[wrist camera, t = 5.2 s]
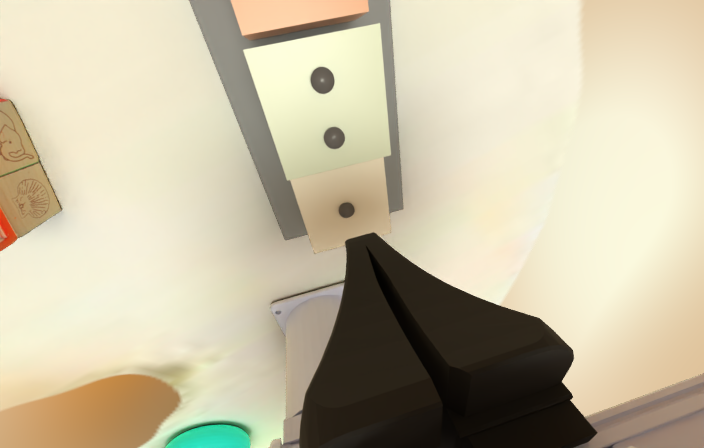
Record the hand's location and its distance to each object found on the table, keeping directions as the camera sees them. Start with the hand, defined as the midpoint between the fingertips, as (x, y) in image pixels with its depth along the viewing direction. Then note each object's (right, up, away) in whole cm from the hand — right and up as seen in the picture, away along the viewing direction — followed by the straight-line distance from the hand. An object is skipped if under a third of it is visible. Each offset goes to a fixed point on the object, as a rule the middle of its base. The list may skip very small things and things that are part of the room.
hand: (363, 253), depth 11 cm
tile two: (-2, +7, +1) cm, 8 cm away
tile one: (-1, +3, +5) cm, 6 cm away
